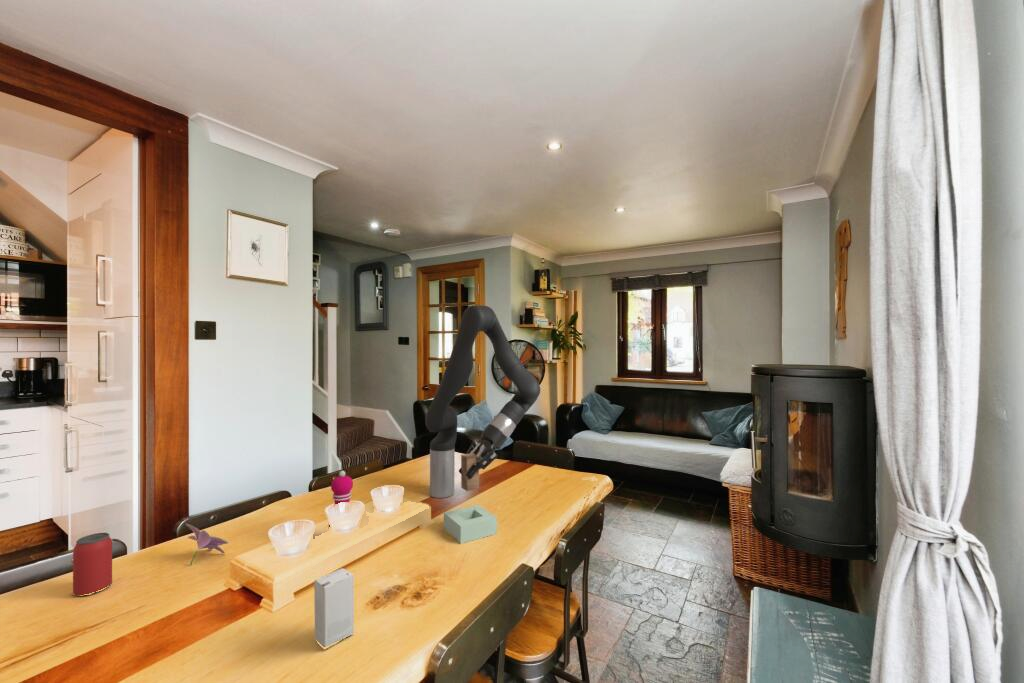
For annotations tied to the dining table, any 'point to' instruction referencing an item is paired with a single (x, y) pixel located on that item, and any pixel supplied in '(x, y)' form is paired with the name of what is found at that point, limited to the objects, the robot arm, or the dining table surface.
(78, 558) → the beer can
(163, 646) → the dining table surface
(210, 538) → the lily
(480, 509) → the socket
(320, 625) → the skincare box
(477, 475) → the peg
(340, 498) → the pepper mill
